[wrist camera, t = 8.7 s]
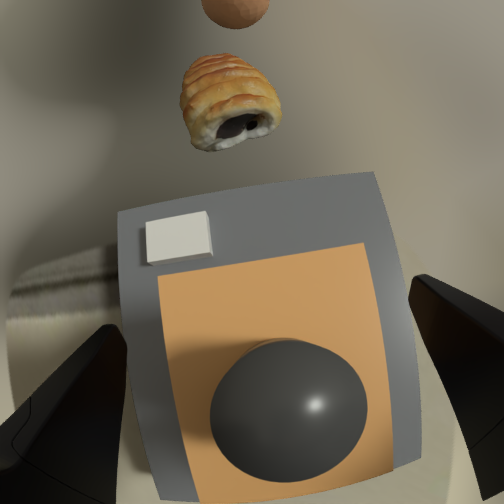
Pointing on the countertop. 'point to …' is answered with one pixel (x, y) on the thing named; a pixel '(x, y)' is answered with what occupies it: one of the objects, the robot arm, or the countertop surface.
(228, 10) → the egg
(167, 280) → the plug
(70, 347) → the countertop surface
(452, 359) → the robot arm
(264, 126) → the pastry
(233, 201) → the socket
